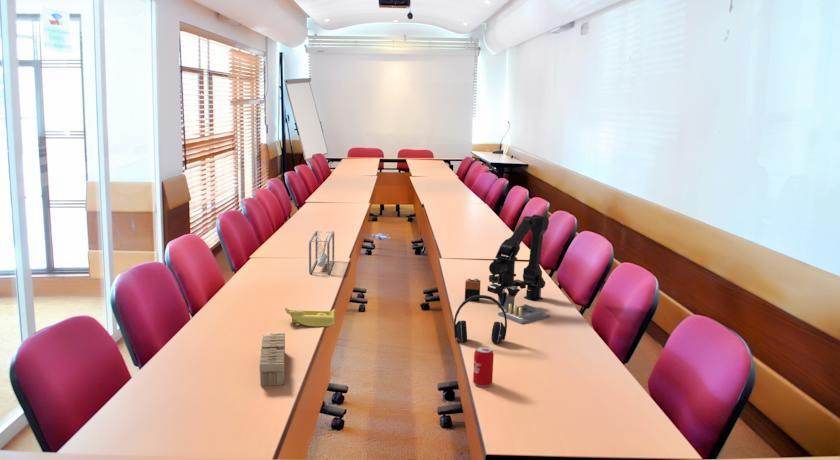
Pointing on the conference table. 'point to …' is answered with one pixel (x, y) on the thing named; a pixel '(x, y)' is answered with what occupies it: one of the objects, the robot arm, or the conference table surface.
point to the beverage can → (483, 366)
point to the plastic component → (313, 317)
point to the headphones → (498, 327)
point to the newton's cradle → (323, 256)
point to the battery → (472, 288)
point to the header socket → (524, 314)
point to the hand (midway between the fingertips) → (505, 305)
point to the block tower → (272, 360)
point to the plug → (507, 302)
